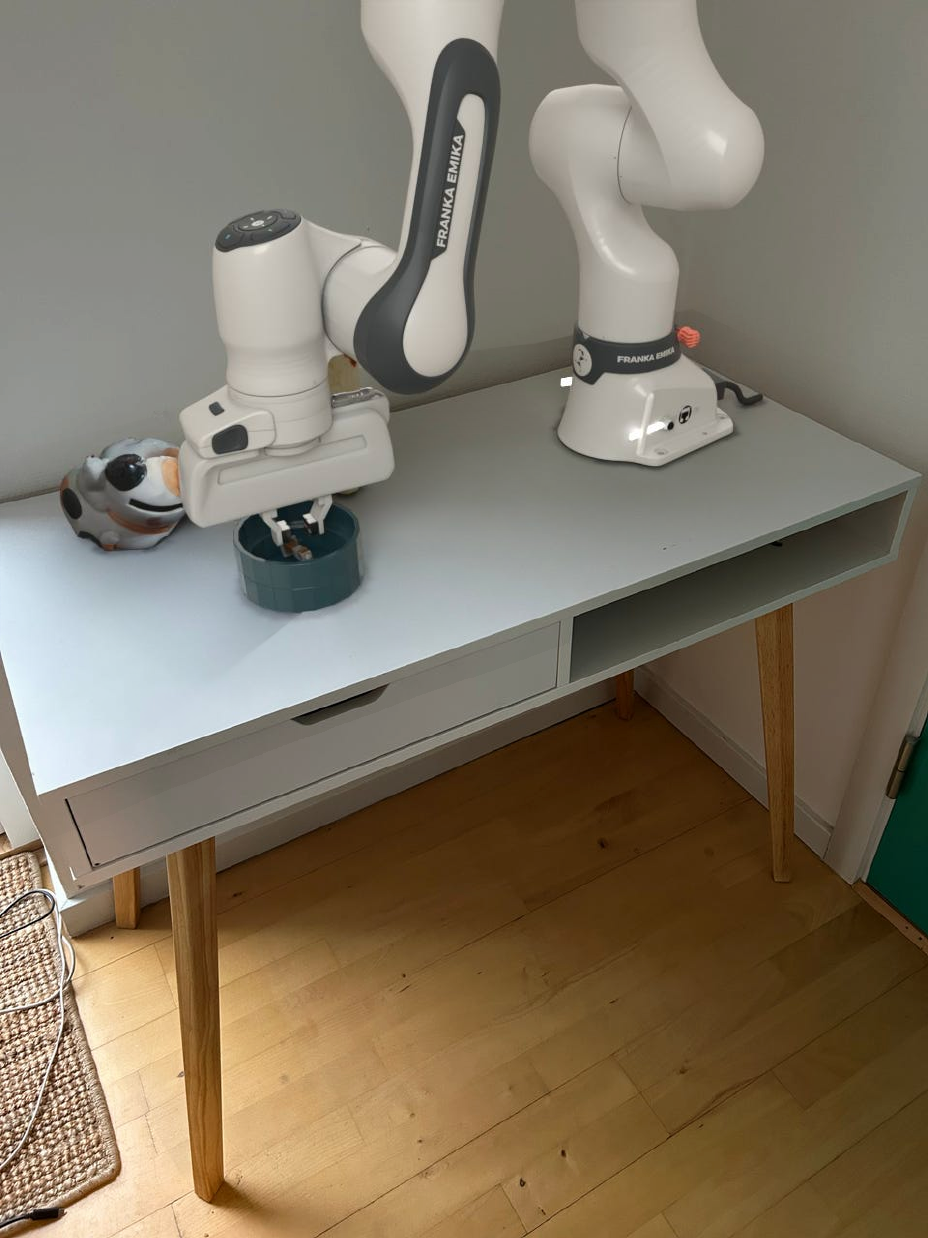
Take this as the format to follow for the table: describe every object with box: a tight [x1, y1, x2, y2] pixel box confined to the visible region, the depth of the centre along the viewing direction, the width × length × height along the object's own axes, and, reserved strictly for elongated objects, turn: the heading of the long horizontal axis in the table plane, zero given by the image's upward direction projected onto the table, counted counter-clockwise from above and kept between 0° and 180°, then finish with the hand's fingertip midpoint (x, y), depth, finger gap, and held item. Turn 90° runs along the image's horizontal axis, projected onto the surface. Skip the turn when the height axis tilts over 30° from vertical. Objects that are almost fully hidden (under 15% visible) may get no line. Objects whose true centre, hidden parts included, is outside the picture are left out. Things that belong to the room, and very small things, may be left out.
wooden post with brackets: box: [280, 535, 313, 561], centre depth 98 cm, size 2×8×4 cm, turn 26°
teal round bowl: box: [232, 499, 365, 613], centre depth 98 cm, size 12×12×6 cm
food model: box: [328, 353, 362, 495], centre depth 109 cm, size 10×7×20 cm
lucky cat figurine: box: [59, 437, 187, 551], centre depth 104 cm, size 15×12×14 cm
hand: (298, 537), depth 96 cm, fingers closed
